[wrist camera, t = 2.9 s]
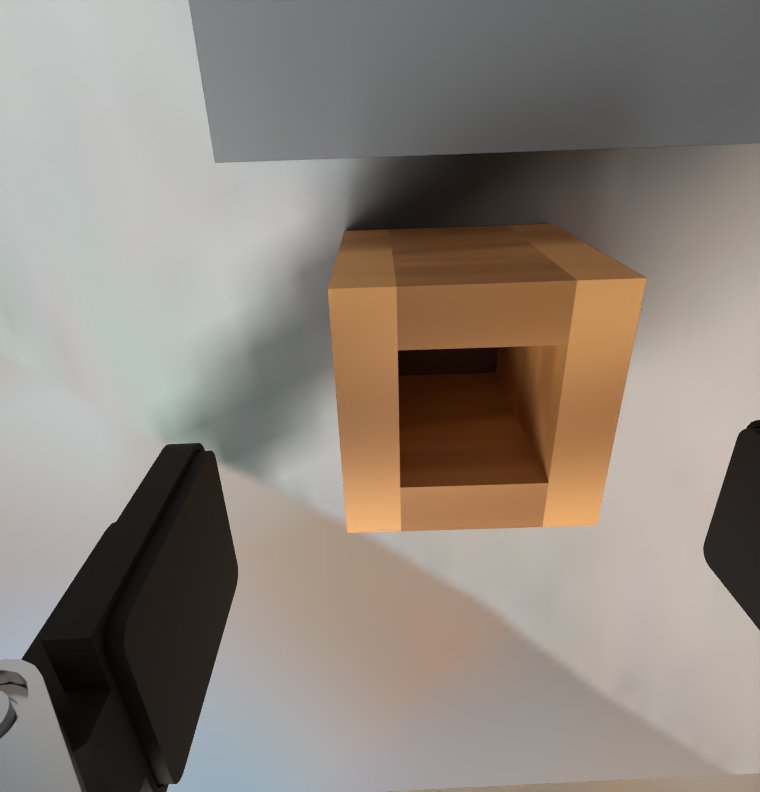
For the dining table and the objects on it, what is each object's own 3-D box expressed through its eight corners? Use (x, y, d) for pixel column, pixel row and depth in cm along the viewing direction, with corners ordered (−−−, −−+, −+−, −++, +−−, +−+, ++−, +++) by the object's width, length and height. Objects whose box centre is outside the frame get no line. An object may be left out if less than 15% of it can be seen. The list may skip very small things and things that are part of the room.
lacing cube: (344, 231, 15) (327, 289, 10) (552, 223, 15) (646, 278, 10) (355, 411, 18) (347, 532, 13) (531, 405, 18) (596, 525, 13)
